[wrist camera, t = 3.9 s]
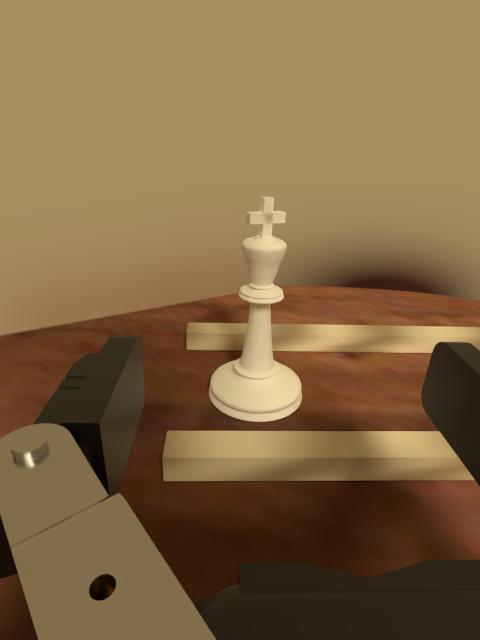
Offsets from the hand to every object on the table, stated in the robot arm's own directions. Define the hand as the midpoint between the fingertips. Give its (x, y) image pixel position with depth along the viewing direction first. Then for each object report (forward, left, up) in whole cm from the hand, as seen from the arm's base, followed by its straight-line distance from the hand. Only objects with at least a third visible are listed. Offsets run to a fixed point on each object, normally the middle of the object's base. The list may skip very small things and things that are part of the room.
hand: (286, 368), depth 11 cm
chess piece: (0, +8, -7) cm, 11 cm away
